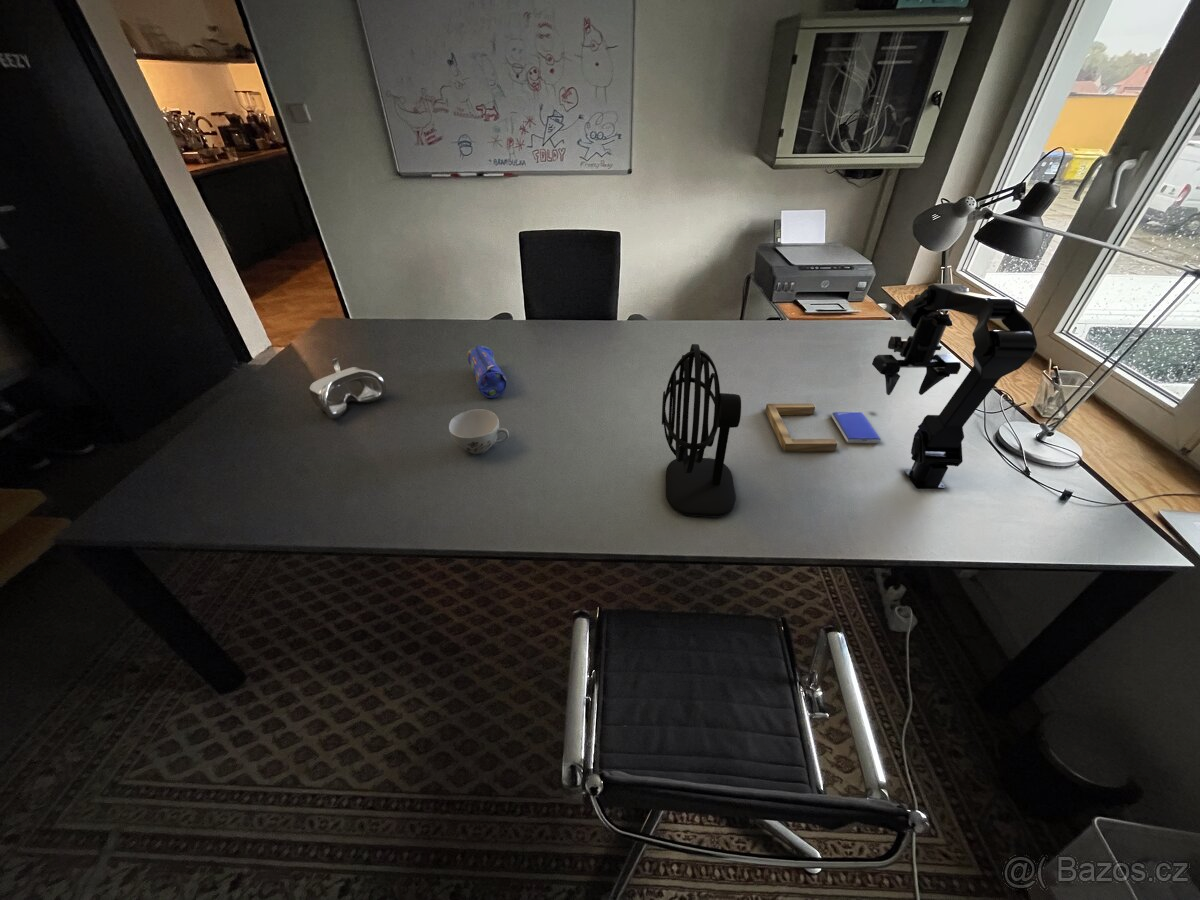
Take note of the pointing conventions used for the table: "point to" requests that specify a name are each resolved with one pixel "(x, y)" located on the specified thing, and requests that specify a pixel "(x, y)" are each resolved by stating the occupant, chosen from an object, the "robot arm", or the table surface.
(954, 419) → the robot arm
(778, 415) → the dock
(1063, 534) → the table surface
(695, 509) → the desk fan
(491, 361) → the pencil case
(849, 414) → the hard drive
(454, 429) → the teacup
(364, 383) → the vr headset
